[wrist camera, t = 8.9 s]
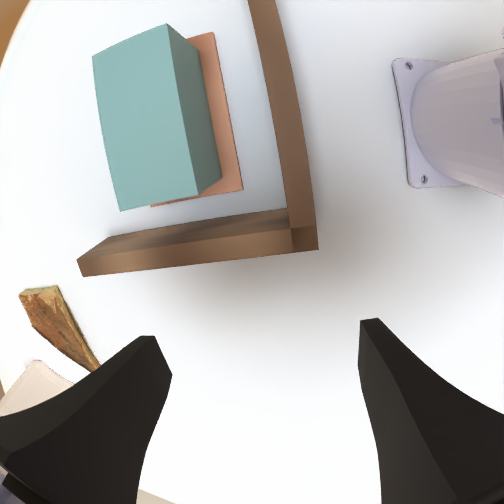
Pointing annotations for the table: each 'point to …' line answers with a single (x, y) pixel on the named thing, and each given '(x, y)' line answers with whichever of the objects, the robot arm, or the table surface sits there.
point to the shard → (57, 324)
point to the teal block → (155, 118)
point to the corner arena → (231, 177)
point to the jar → (33, 388)
